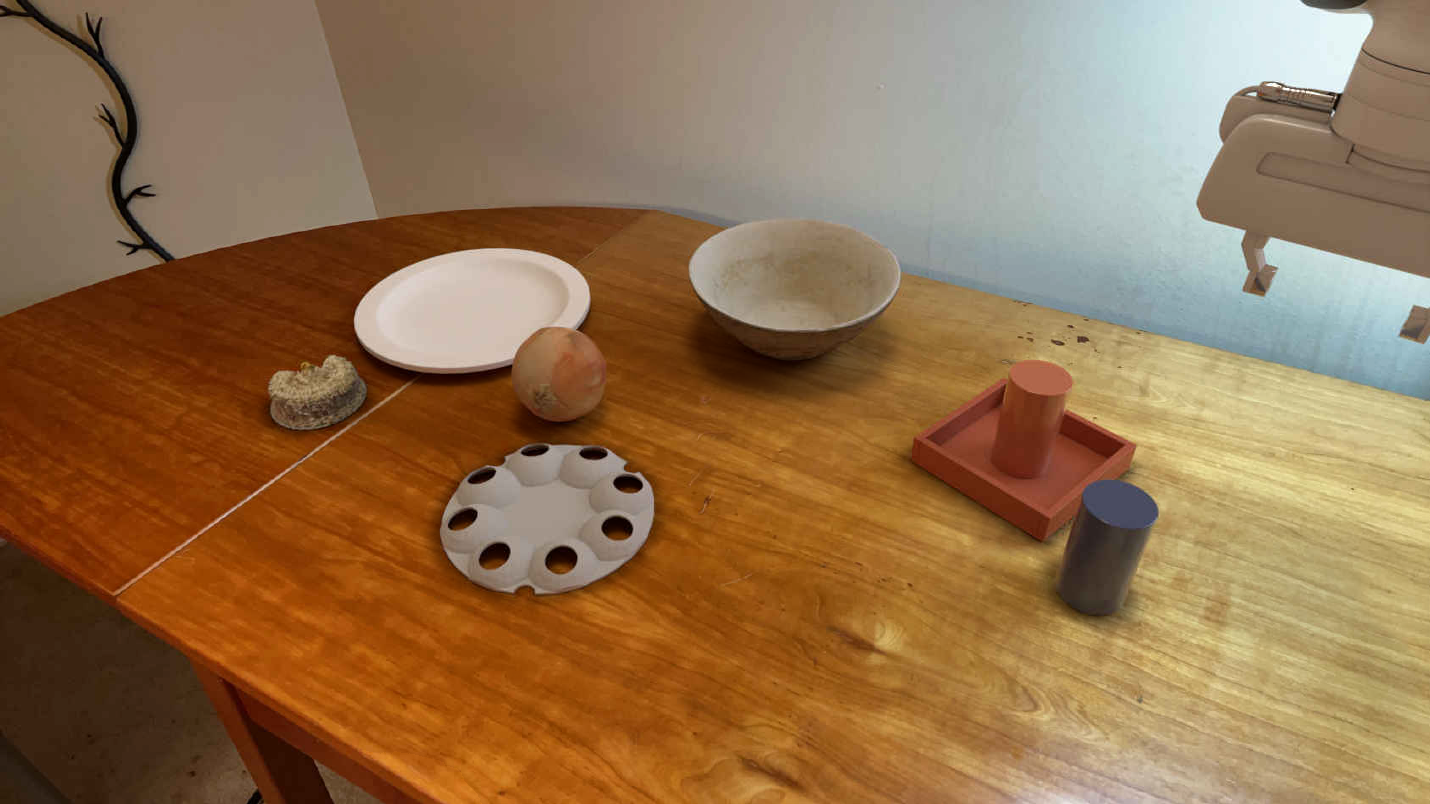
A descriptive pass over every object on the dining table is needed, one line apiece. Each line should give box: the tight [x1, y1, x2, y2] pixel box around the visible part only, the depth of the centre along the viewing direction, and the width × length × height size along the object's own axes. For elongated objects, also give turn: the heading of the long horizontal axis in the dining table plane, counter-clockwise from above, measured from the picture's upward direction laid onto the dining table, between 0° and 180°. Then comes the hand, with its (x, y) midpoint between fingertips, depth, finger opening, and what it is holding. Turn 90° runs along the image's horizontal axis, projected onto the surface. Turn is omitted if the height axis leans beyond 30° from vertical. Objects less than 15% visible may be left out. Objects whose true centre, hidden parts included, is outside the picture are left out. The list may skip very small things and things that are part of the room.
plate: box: [353, 247, 591, 374], centre depth 111 cm, size 28×28×2 cm
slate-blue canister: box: [1054, 479, 1160, 616], centre depth 73 cm, size 6×6×10 cm
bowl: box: [688, 218, 902, 362], centre depth 105 cm, size 24×24×10 cm
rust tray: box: [910, 377, 1138, 543], centre depth 88 cm, size 15×15×3 cm
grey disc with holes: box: [439, 442, 655, 596], centre depth 84 cm, size 20×20×2 cm
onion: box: [511, 327, 607, 423], centre depth 94 cm, size 10×10×10 cm
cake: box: [267, 354, 368, 431], centre depth 97 cm, size 10×10×5 cm
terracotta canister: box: [991, 359, 1074, 479], centre depth 86 cm, size 6×6×10 cm
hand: (1330, 313), depth 61 cm, fingers open, 8 cm apart
